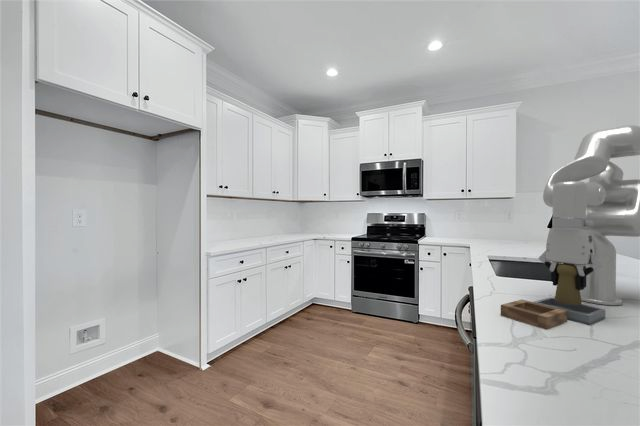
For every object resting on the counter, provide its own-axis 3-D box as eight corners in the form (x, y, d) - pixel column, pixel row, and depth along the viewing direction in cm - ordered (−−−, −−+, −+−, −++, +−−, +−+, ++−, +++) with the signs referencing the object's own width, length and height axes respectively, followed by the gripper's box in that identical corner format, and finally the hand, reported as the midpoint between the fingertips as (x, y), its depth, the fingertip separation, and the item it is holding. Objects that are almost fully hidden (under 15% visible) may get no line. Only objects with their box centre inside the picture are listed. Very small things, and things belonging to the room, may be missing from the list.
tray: (550, 305, 92) (550, 297, 92) (605, 318, 80) (605, 309, 80) (533, 310, 87) (533, 302, 87) (589, 325, 75) (589, 315, 75)
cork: (587, 305, 80) (587, 266, 80) (562, 304, 81) (562, 264, 81) (573, 299, 86) (573, 262, 86) (549, 298, 87) (550, 261, 87)
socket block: (521, 309, 87) (521, 299, 87) (567, 321, 78) (567, 310, 78) (500, 315, 82) (500, 304, 82) (546, 329, 72) (546, 317, 72)
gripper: (614, 225, 78) (613, 292, 78) (541, 223, 93) (540, 279, 93) (603, 225, 74) (602, 296, 74) (529, 223, 89) (528, 282, 89)
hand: (568, 286), depth 84 cm, fingers closed on cork, 4 cm apart
